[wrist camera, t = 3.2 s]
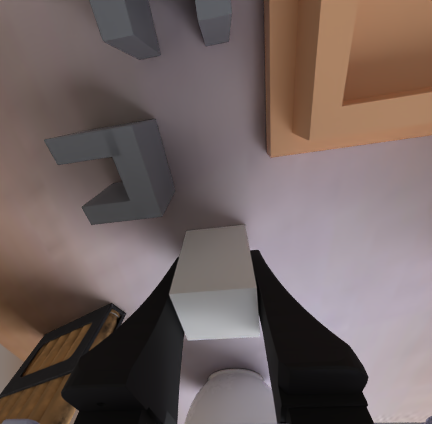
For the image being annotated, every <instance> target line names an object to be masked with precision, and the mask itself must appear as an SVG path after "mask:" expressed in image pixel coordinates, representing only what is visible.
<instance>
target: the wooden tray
mask: <svg viewBox="0 0 432 424" xmlns="http://www.w3.org/2000/svg"><path fill="white" fill-rule="evenodd" d="M264 33H265V86H266V139H267V154H268V155H269V156H270V157H271V158H272V157H279V156H286V155H293V154H301V153H308V152H315V151H322V150H329V149H336V148H343V147H351V146H358V145H365V144H372V143H379V142H386V141H394V140H401V139H408V138H415V137H422V136H429V135H432V0H264Z"/></svg>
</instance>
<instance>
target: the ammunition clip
mask: <svg viewBox="0 0 432 424" xmlns="http://www.w3.org/2000/svg"><path fill="white" fill-rule="evenodd" d="M125 315H126V313H124V312H123V311H122V310H120V309H119V308H117V307H116V306H114V305H113V304H112V303H110V304H108V305H106V306H104V307H102V308H100V309H98V310H96V311H94V312H92V313H89V314H87V315H85V316H83V317H81V318H79V319H77V320H75V321H73V322H71V323H68V324H66V325H64V326H62V327H60V328H58V329H56V330H54V331H52V332H50V333H47V334H45V335H44V336H43V338H42V339H41V340H40V342H39V343H38V344H37V346H36V347H35V348H34V350H33V351H32V352H31V354H30V355H29V356H28V358H27V359H26V360H25V362H24V363H23V364H22V366H21V367H20V369H19V370H18V371H17V373H16V374H15V375H14V377H13V378H12V379H11V381H10V382H9V383H8V385H7V386H6V387H5V389H4V390H3V391H2V393H1V394H0V424H2V422H3V421H4V420H6V419H30V420H34V421H37V422H38V423H40V424H69V423H70V421H71V419H72V416H73V415H74V412H75V410H76V408H74V407H73V406H72V405H70V404H69V403H68V402H66V401H65V400H64V399H63V398H62V396H61V391H62V389H63V387H64V385H65V383H66V382H67V380H68V378H69V376H70V374H71V372H72V371H73V369H74V367H75V365H76V364H77V362H78V360H79V359H80V357H81V356H83V355H84V354H86V353H87V352H88V351H90V350H91V349H92V348H94V347H95V346H96V345H98V344H99V343H100V342H101V341H103V340H104V339H105V338H106V337H108V336H109V335H110V334H111V333H112V332H114V331H115V330H116V329H117V328H118V327H119V326H121V324H122V321H123V319H124V317H125Z"/></svg>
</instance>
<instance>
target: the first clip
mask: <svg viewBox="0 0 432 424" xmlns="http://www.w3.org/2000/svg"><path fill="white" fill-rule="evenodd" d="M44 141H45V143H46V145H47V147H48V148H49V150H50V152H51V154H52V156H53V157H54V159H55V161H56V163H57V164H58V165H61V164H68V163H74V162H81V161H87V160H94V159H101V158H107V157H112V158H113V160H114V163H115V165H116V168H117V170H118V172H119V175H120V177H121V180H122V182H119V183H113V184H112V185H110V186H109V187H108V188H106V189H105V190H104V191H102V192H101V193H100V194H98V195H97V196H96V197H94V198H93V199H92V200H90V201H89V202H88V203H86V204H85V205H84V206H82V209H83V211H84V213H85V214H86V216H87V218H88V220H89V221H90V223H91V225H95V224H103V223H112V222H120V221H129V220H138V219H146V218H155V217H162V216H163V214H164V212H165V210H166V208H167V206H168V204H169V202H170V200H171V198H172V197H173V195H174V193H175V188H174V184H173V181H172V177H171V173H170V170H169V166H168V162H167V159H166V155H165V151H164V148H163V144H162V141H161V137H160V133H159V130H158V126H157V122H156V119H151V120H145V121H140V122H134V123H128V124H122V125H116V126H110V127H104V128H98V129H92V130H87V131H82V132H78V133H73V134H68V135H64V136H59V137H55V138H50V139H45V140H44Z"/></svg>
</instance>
